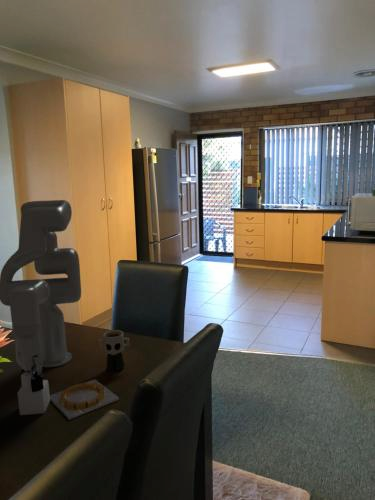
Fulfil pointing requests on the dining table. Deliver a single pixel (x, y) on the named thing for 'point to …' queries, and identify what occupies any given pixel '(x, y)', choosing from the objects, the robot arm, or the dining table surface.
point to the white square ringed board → (82, 398)
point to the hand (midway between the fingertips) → (32, 384)
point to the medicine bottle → (32, 396)
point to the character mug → (114, 348)
